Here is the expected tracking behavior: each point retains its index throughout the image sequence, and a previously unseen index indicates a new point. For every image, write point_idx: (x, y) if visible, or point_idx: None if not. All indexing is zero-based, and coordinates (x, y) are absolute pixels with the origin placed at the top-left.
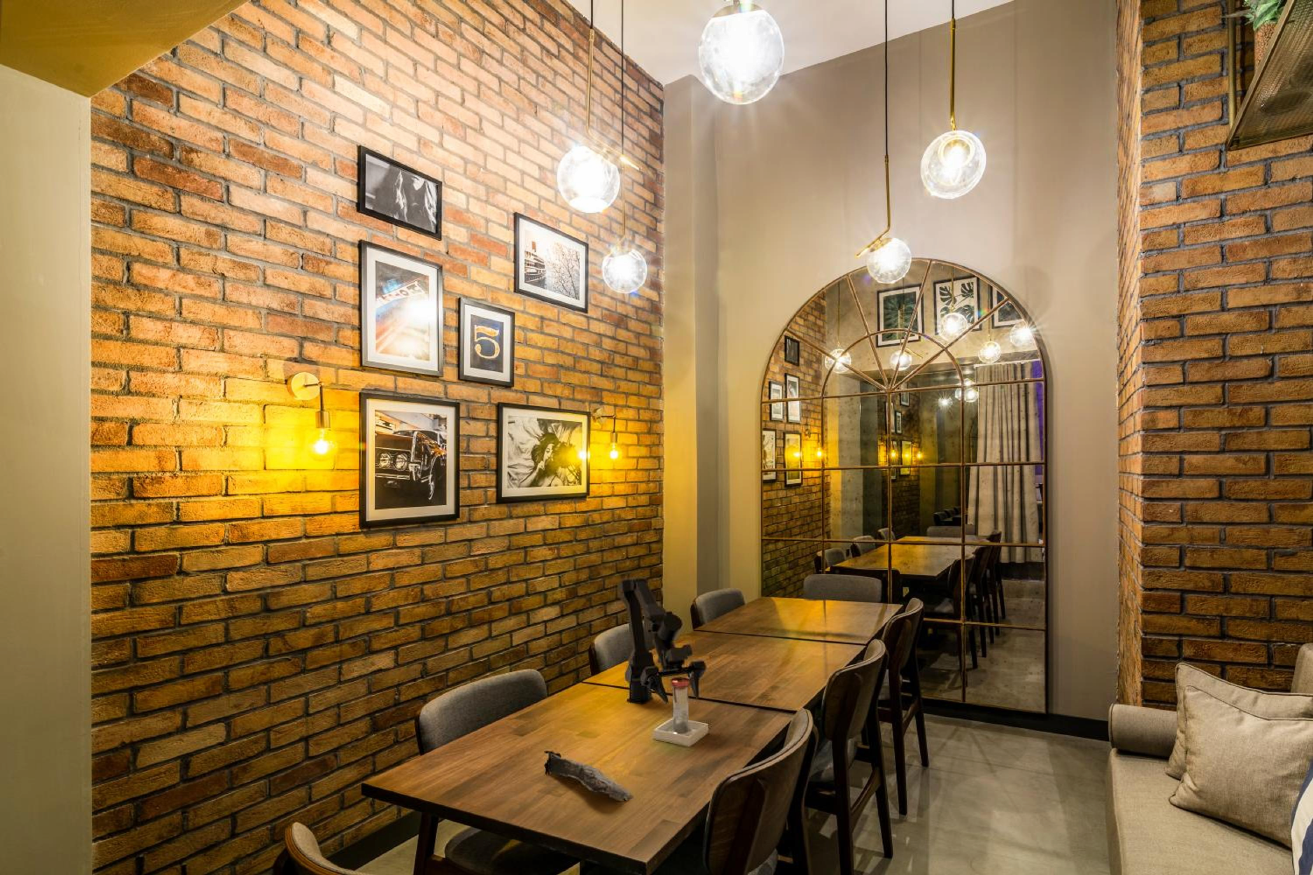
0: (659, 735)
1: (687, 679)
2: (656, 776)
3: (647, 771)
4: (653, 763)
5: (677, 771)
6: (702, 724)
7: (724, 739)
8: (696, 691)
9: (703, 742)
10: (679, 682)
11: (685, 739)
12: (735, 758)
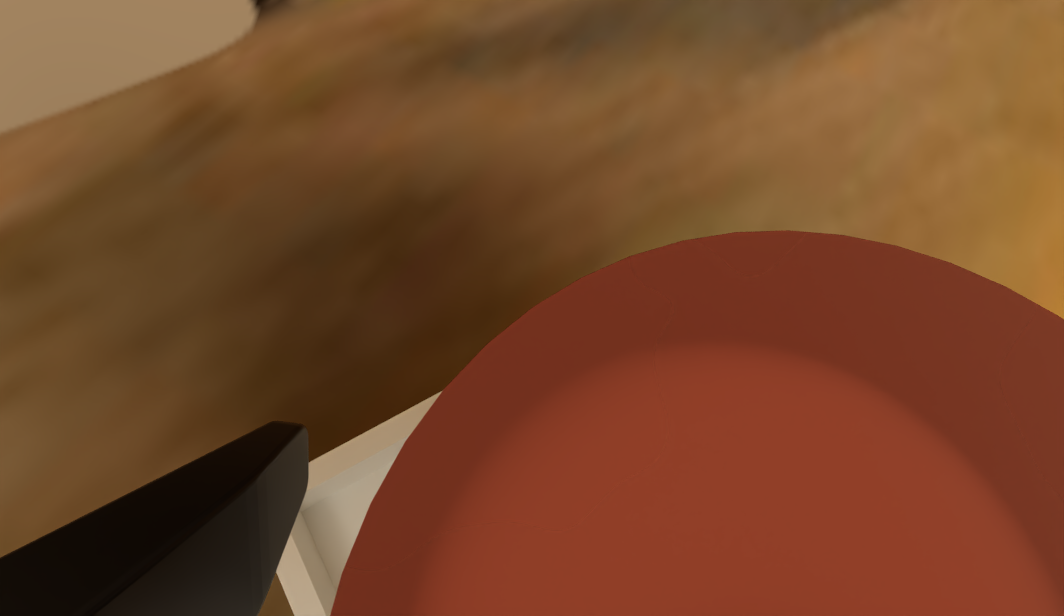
0: None
1: (453, 579)
2: (1008, 70)
3: (1049, 146)
4: (983, 220)
5: (866, 59)
6: (295, 541)
7: (266, 297)
8: (240, 480)
9: (461, 338)
10: (1026, 367)
11: None
12: (439, 17)
